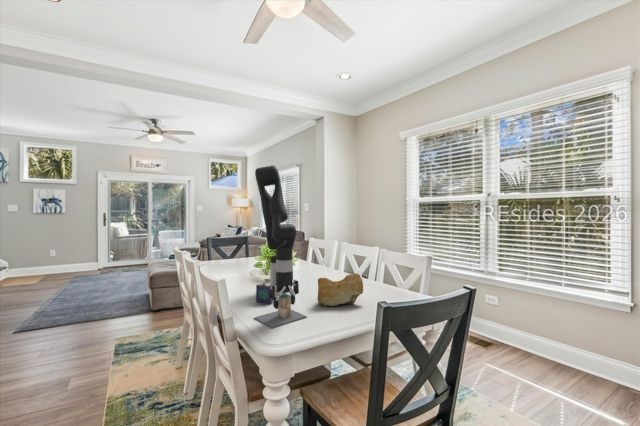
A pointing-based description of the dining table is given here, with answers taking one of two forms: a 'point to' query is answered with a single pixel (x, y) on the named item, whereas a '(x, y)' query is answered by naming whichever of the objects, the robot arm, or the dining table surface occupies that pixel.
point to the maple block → (284, 305)
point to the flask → (263, 294)
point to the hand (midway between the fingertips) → (284, 306)
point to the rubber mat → (279, 319)
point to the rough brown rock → (339, 290)
